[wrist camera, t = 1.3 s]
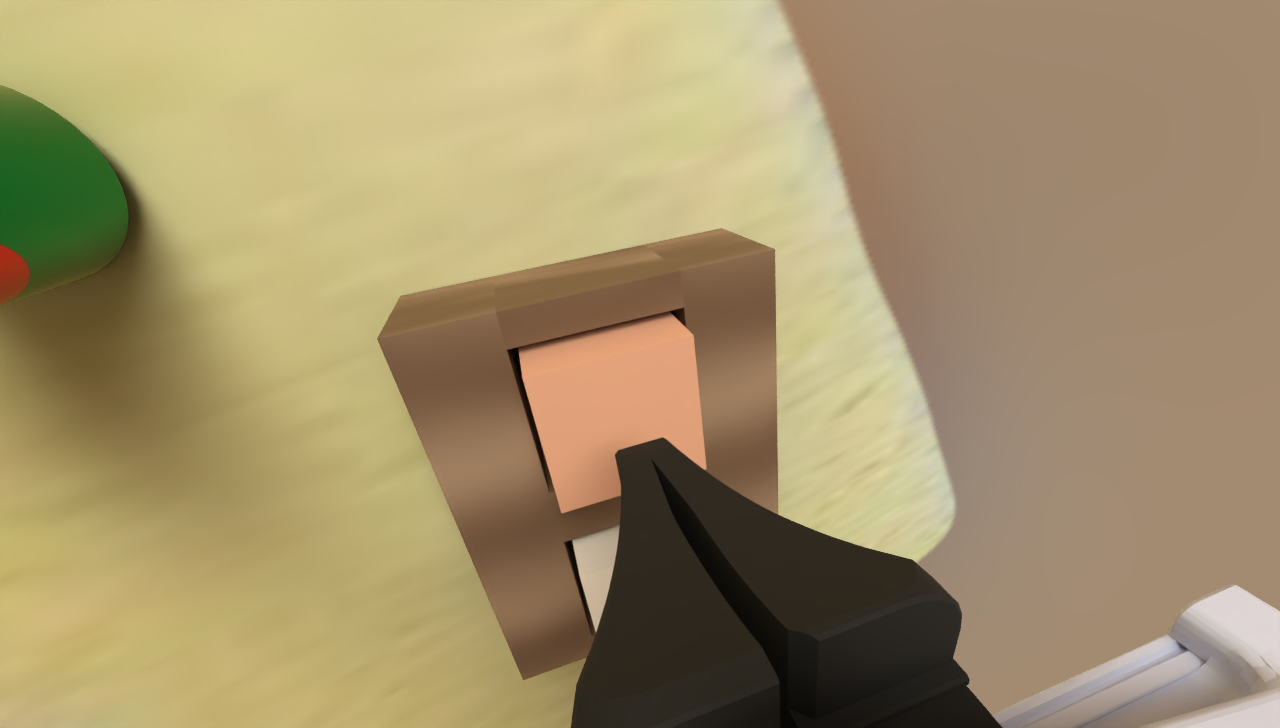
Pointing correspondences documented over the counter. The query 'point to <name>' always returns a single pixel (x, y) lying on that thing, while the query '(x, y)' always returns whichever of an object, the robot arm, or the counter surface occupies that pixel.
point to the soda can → (52, 201)
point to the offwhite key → (596, 567)
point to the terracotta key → (611, 401)
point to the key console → (506, 430)
